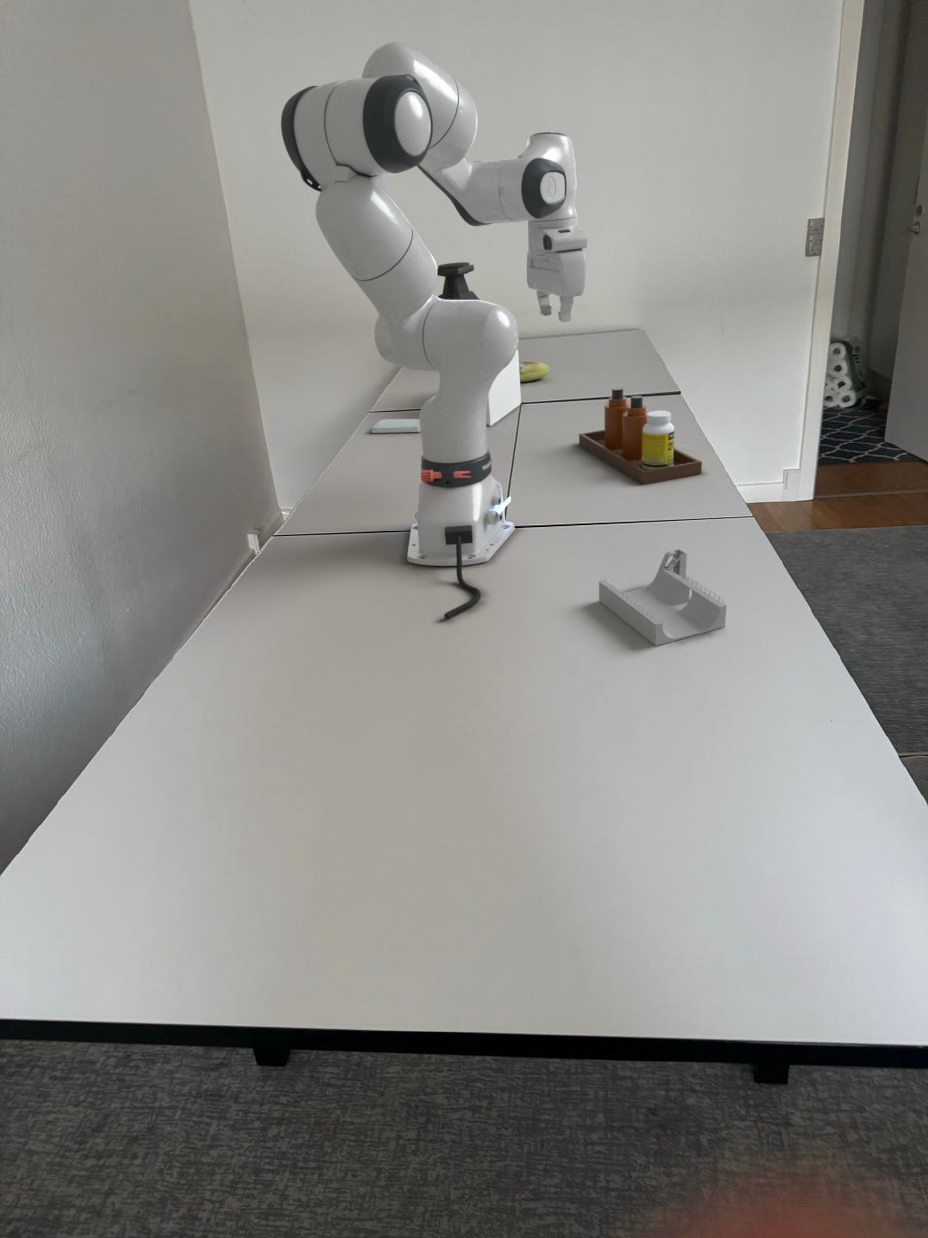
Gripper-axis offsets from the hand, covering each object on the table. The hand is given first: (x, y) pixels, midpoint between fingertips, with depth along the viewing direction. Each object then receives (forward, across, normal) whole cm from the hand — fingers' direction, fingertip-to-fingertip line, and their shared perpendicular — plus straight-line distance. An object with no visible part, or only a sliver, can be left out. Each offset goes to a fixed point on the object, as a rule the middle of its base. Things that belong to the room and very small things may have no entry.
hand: (555, 318), depth 156 cm
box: (+31, -66, +4) cm, 73 cm away
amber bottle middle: (+31, -4, +19) cm, 36 cm away
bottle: (+32, -146, +21) cm, 151 cm away
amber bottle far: (+31, -13, +19) cm, 38 cm away
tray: (+31, -4, +19) cm, 37 cm away
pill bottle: (+31, +5, +19) cm, 37 cm away
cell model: (+31, -91, +25) cm, 99 cm away
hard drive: (+31, -58, -21) cm, 69 cm away
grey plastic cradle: (+31, +61, -8) cm, 69 cm away
